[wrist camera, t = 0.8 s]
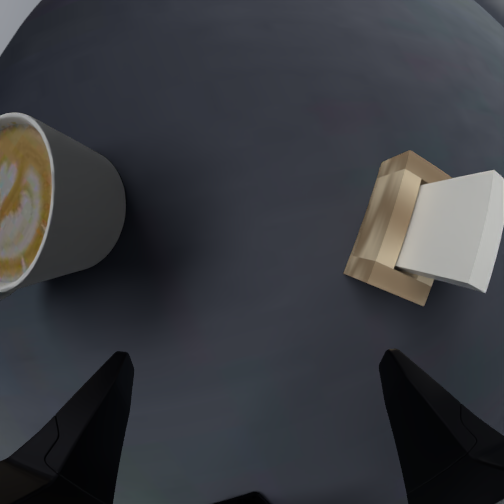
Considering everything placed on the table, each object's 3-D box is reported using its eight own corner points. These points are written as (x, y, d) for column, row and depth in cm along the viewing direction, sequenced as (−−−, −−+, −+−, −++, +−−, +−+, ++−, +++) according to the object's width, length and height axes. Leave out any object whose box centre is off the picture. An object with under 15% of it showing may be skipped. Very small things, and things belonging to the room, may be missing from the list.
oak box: (394, 294, 23) (423, 306, 19) (343, 273, 23) (367, 283, 18) (428, 189, 23) (460, 184, 18) (381, 162, 22) (409, 150, 18)
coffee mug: (87, 126, 21) (20, 79, 11) (150, 217, 22) (89, 209, 12) (-3, 228, 21) (-79, 230, 11) (46, 315, 21) (-27, 352, 12)
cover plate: (388, 267, 22) (485, 293, 11) (373, 260, 22) (468, 283, 11) (411, 199, 22) (510, 184, 11) (396, 190, 22) (494, 169, 11)
